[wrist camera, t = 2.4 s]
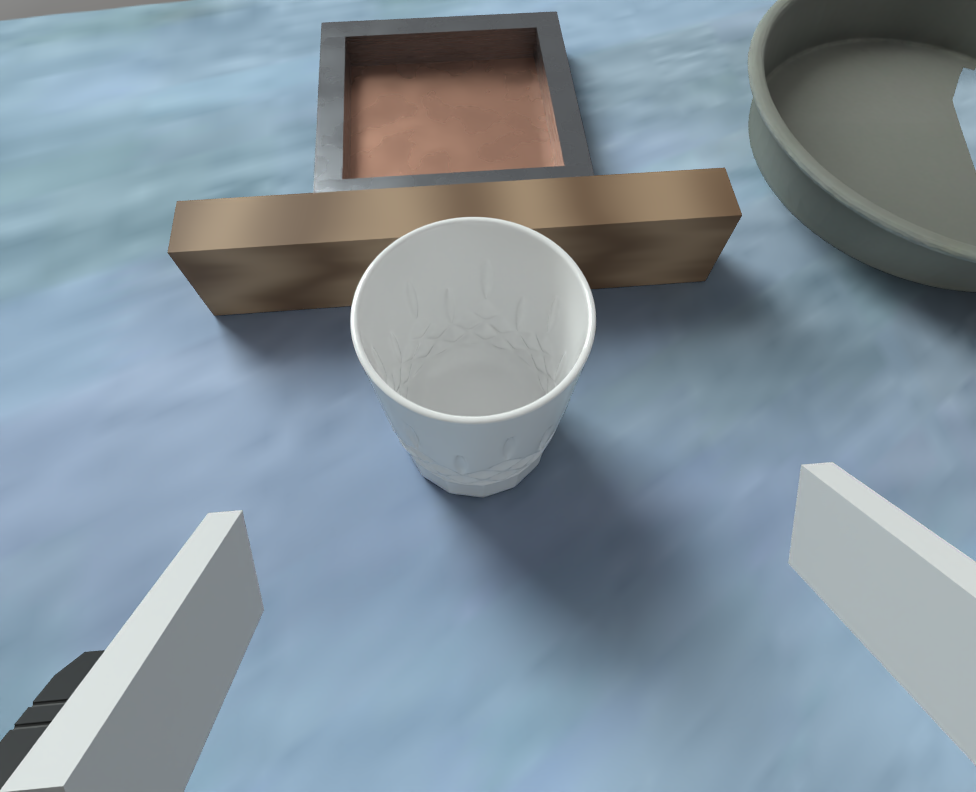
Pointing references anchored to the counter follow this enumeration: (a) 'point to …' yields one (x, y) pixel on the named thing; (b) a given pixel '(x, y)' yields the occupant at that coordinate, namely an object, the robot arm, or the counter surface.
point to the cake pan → (870, 129)
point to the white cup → (473, 347)
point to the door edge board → (397, 211)
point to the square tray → (446, 103)
